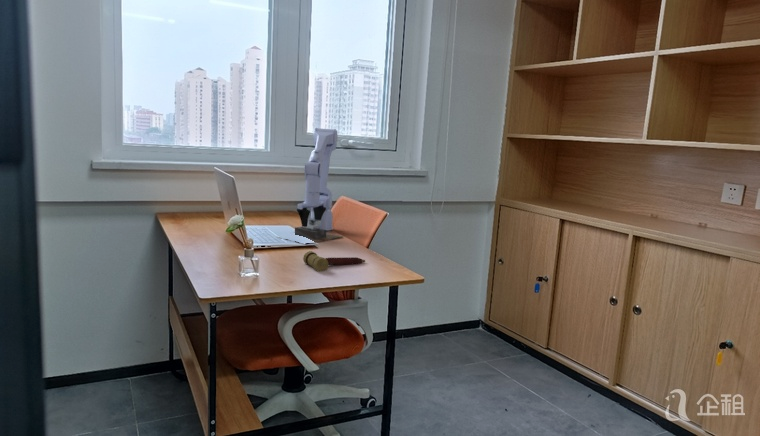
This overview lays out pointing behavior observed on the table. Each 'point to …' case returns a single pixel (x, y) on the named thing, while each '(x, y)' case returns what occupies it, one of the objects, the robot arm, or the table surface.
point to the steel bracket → (312, 224)
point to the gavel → (328, 261)
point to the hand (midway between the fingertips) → (310, 225)
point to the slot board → (316, 234)
